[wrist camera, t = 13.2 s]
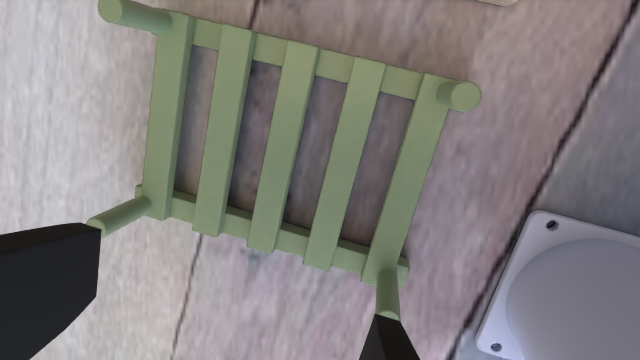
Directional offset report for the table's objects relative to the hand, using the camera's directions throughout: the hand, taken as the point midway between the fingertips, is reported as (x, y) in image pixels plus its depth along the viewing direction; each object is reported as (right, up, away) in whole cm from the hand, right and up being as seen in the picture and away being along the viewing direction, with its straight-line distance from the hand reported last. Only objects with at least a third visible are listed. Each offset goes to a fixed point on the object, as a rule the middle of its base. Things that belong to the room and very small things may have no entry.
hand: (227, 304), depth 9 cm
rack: (+1, +5, +10) cm, 11 cm away
